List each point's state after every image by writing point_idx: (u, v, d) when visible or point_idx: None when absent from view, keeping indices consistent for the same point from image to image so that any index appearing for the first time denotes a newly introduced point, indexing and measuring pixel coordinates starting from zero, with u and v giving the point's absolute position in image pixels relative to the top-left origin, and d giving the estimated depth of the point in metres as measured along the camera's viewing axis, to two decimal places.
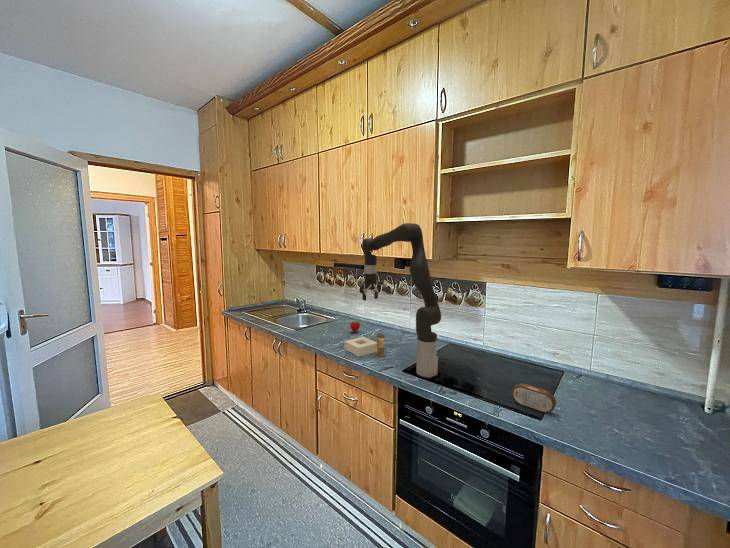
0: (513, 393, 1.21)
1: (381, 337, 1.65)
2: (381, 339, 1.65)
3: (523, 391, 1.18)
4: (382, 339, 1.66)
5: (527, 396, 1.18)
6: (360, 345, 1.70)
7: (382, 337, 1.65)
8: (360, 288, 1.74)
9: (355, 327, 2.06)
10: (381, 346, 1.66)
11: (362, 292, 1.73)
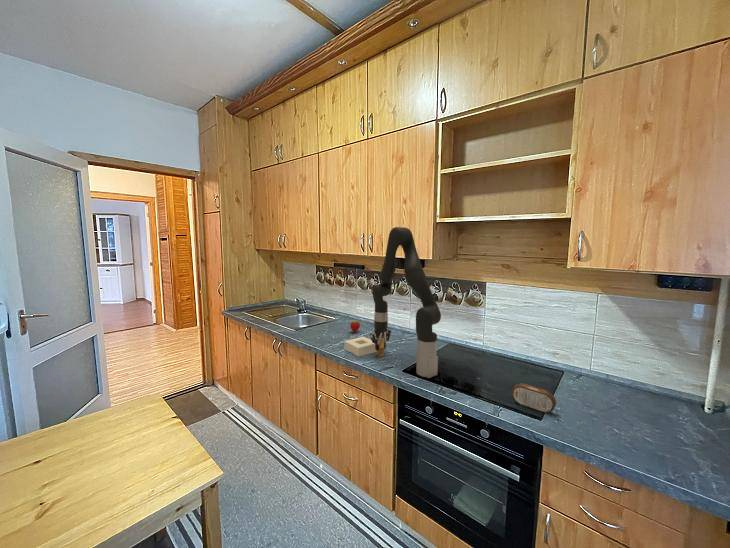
0: (513, 393, 1.21)
1: (381, 337, 1.65)
2: (381, 339, 1.65)
3: (523, 391, 1.18)
4: (382, 339, 1.66)
5: (527, 396, 1.18)
6: (360, 345, 1.70)
7: (382, 337, 1.65)
8: (372, 339, 1.64)
9: (355, 327, 2.06)
10: (381, 346, 1.66)
11: (375, 343, 1.64)
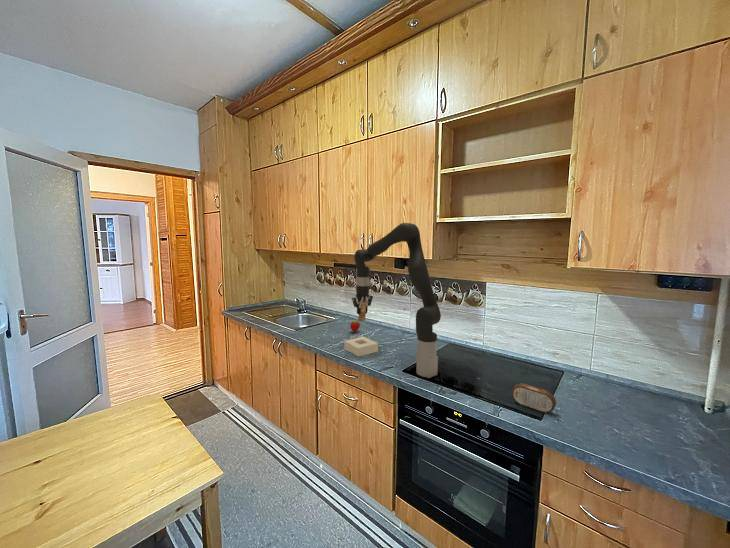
0: (513, 393, 1.21)
1: (362, 301, 1.71)
2: (363, 304, 1.71)
3: (523, 391, 1.18)
4: (363, 303, 1.71)
5: (527, 396, 1.18)
6: (360, 345, 1.70)
7: (363, 301, 1.71)
8: (353, 303, 1.70)
9: (355, 327, 2.06)
10: (362, 310, 1.71)
11: (356, 306, 1.69)
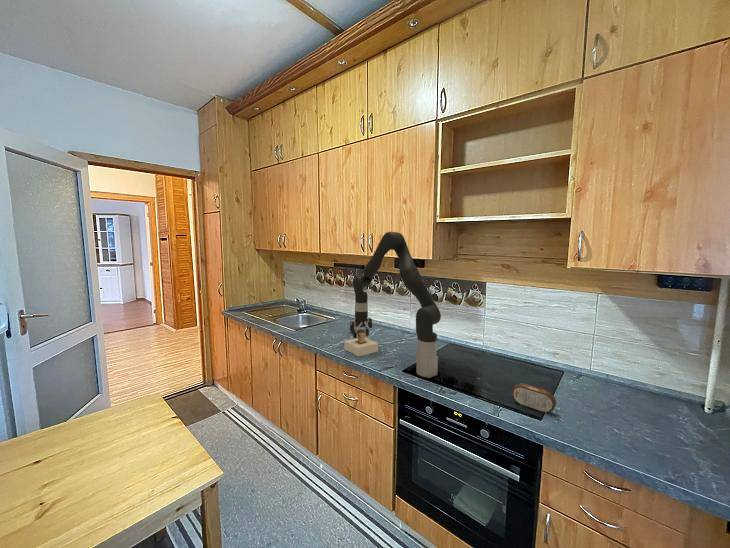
0: (513, 393, 1.21)
1: (361, 332, 1.73)
2: (361, 334, 1.73)
3: (523, 391, 1.18)
4: (362, 334, 1.74)
5: (527, 396, 1.18)
6: (360, 345, 1.70)
7: (362, 332, 1.74)
8: (350, 326, 1.71)
9: None
10: (361, 341, 1.74)
11: (352, 330, 1.70)
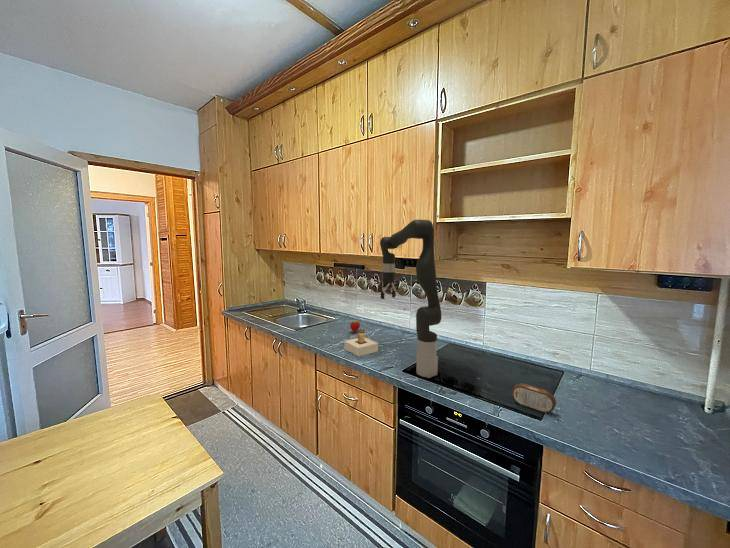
0: (513, 393, 1.21)
1: (361, 332, 1.73)
2: (361, 334, 1.73)
3: (523, 391, 1.18)
4: (362, 334, 1.74)
5: (527, 396, 1.18)
6: (360, 345, 1.70)
7: (362, 332, 1.73)
8: (378, 287, 1.74)
9: (355, 327, 2.06)
10: (361, 341, 1.74)
11: (380, 291, 1.73)
